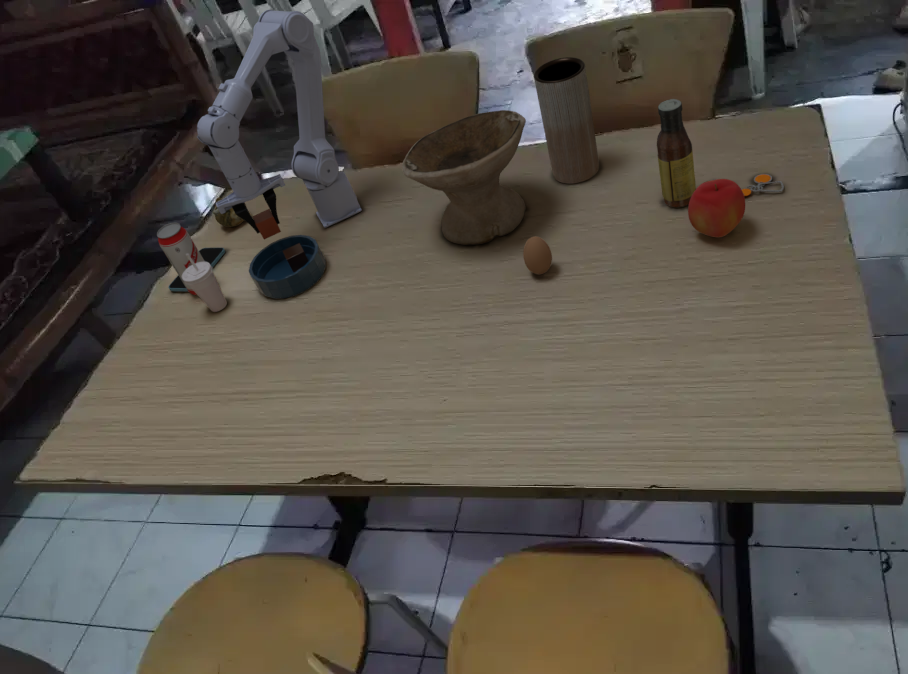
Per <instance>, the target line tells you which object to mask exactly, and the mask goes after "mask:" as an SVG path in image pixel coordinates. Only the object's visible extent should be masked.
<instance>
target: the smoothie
mask: <svg viewBox="0 0 908 674" xmlns="http://www.w3.org/2000/svg"><path fill="white" fill-rule="evenodd" d="M186 256H187V257H188V259H189V260H190V262H191V263H192V265H191V266H190V267H188V268H187V269H186V270H185V271H184V272H183V274H182V279H183V281H184V283H185V284H187V285H189V286H190V287H191V288H192V290H193V291H194V292H195V293H196V294H197V295H198V296H197V295H196V296H197V297H199V299H200V300H201V301H202V302H203V303H204V304H205V305H206V307H207V308H208V309H209V310H210V311H211V312H214V313H216V312H220V311H221V310H223V309H224V308H226V306H227V304H228V301H227V299H226V297H225V295H224V292H223V290H222V289H221V286H220V283H219V282H218V279H217V278H216V275H215V274H214V271H213V269H214V267H213V268H212V266H211V265H210V264H209V263H208V262H198V263H194V261H193V260H192V258H191V257H190V255H189V254H188V253H187V254H186Z"/></svg>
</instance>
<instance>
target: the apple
mask: <svg viewBox="0 0 908 674" xmlns="http://www.w3.org/2000/svg"><path fill="white" fill-rule="evenodd" d="M715 179H716V180H713V179H711V180H708V181H704V182H702V183H700V184H699V185H698V186H697V187H696V190H695V191H694V193H693V194H692V196H691V199H690V202H689V205H687V206H688V207H687V215H688V220H689V223H690V225H691V226H692V227H693V229H694V230H696V231H697V232H699V233H700V234H702V235H705V236H708V237H711V238H723V237H725V236H727V235H728V234H730V233H731V232H732V231H733V230H734V229H735V228H737V226H738V225H739V224H740V223H741V221H742V220H743V218H744V216H745V212H746V199H745V196H744V195H743V192H742V190H741V189H742V188H741V187H740V186H739V184H737V182H735V181H733V180H731V179H728V178H715Z"/></svg>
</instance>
